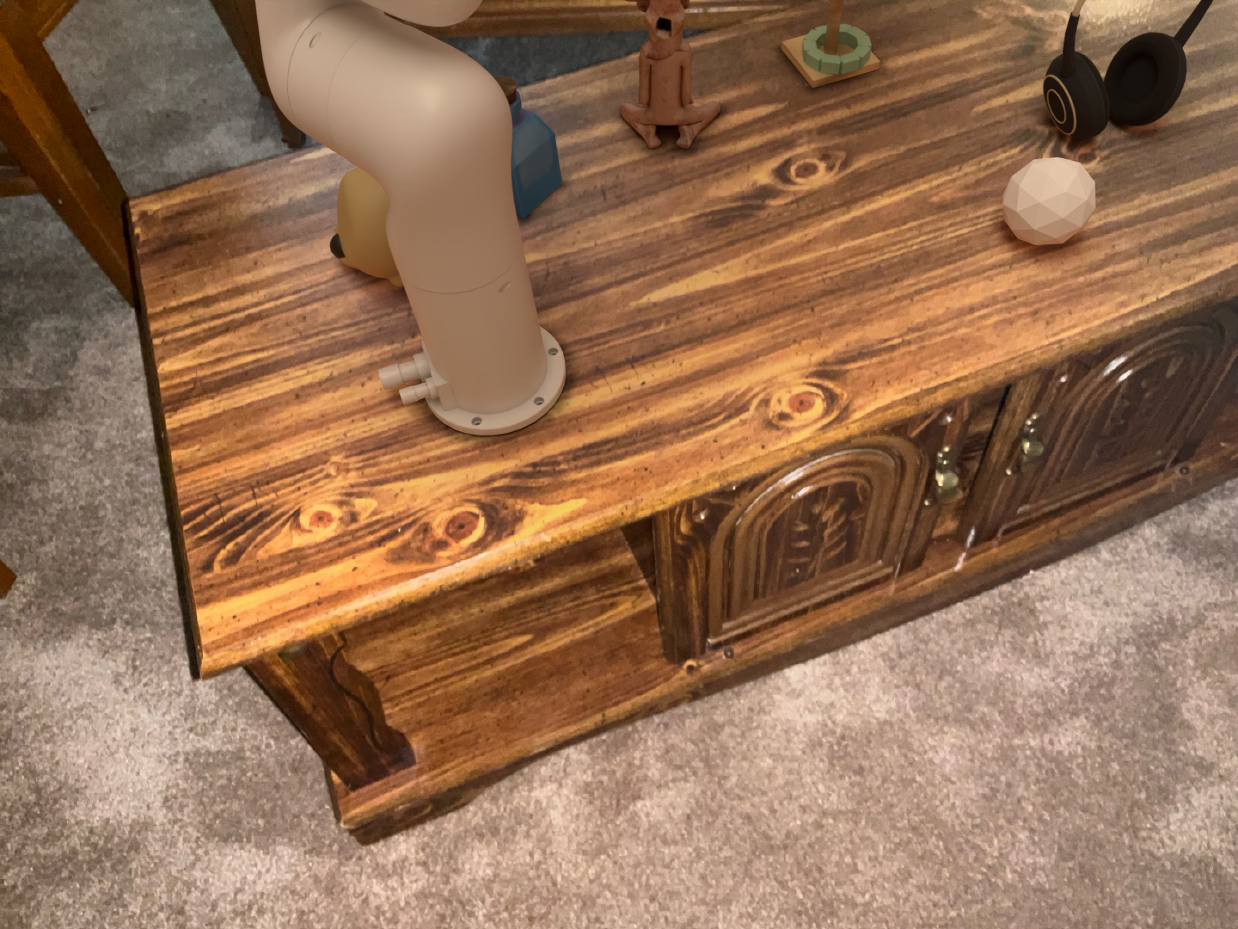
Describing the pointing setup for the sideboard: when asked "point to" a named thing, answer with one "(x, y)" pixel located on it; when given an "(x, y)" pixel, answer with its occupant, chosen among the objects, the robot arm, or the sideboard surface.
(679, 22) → the figurine
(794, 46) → the peg stand
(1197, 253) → the sideboard surface
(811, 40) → the ring
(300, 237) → the sideboard surface
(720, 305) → the sideboard surface
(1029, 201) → the geometric ball
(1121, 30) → the sideboard surface
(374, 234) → the toy pig
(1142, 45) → the headphones
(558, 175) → the perfume bottle
